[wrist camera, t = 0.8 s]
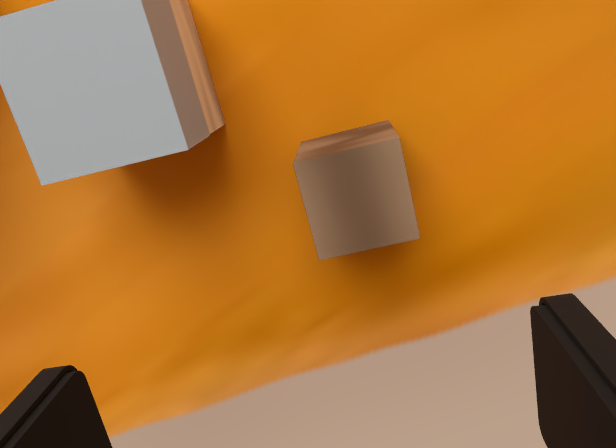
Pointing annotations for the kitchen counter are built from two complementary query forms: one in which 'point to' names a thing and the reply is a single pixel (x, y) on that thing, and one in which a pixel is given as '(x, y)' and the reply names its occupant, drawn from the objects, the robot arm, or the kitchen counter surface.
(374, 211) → the walnut block
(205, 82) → the tower base
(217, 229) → the kitchen counter surface
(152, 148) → the tower top
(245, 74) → the kitchen counter surface
